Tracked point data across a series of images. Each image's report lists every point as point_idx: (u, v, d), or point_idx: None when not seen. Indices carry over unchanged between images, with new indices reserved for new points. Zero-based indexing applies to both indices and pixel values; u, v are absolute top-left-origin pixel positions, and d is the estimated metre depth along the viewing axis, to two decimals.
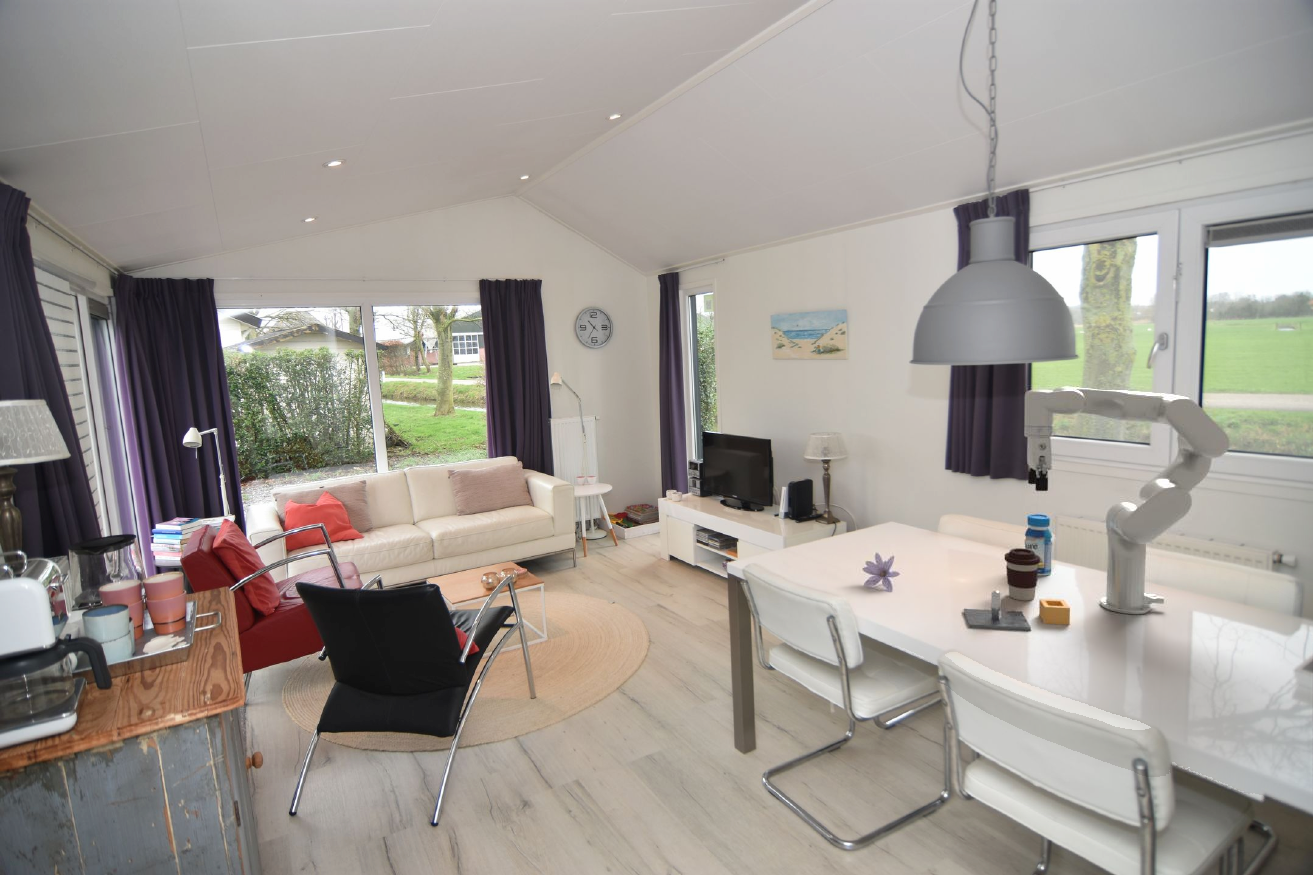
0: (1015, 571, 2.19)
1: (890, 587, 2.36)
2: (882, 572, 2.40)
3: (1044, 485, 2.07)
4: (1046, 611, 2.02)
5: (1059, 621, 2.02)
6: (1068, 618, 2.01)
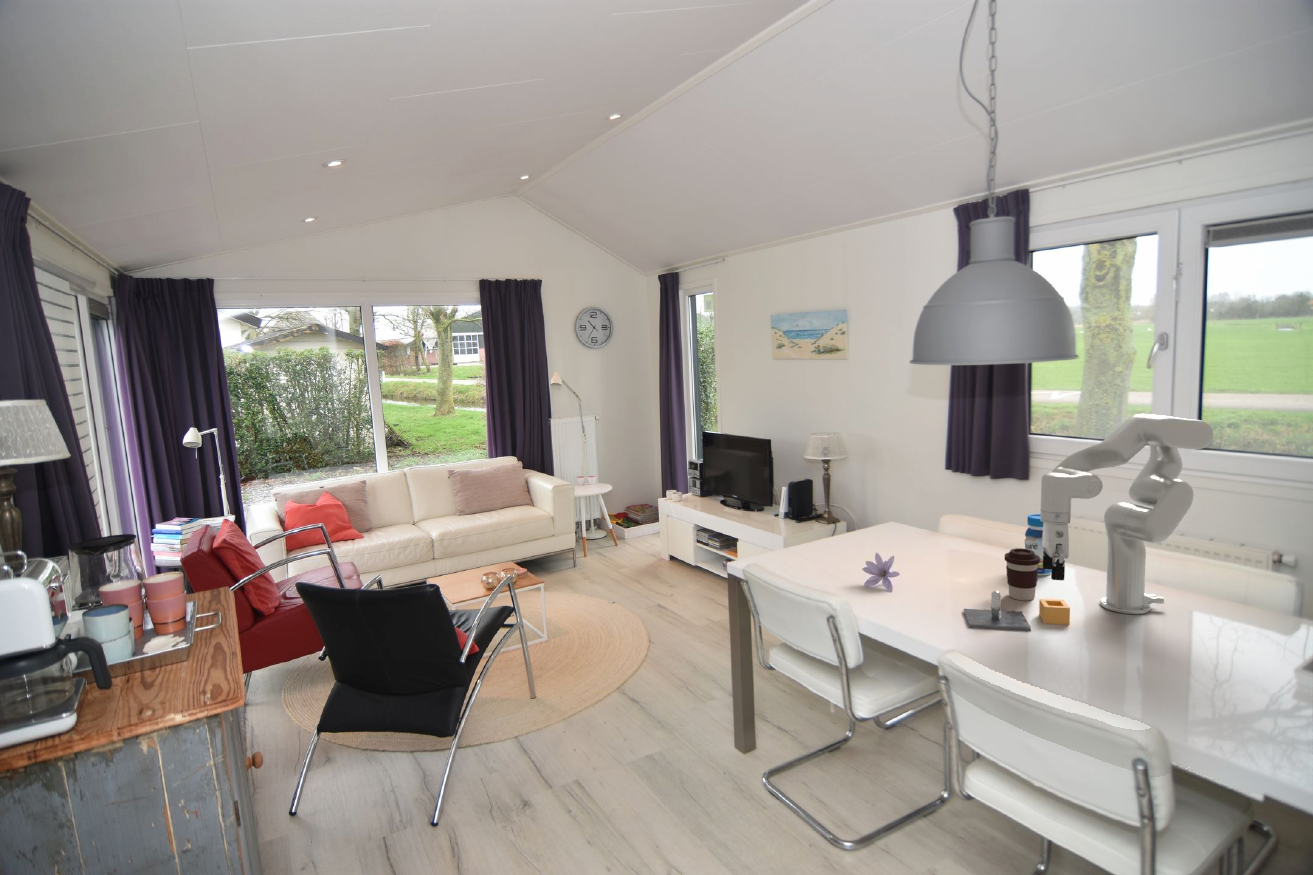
0: (1015, 571, 2.19)
1: (890, 587, 2.36)
2: (882, 572, 2.40)
3: (1060, 574, 1.97)
4: (1046, 611, 2.02)
5: (1059, 621, 2.02)
6: (1068, 618, 2.01)
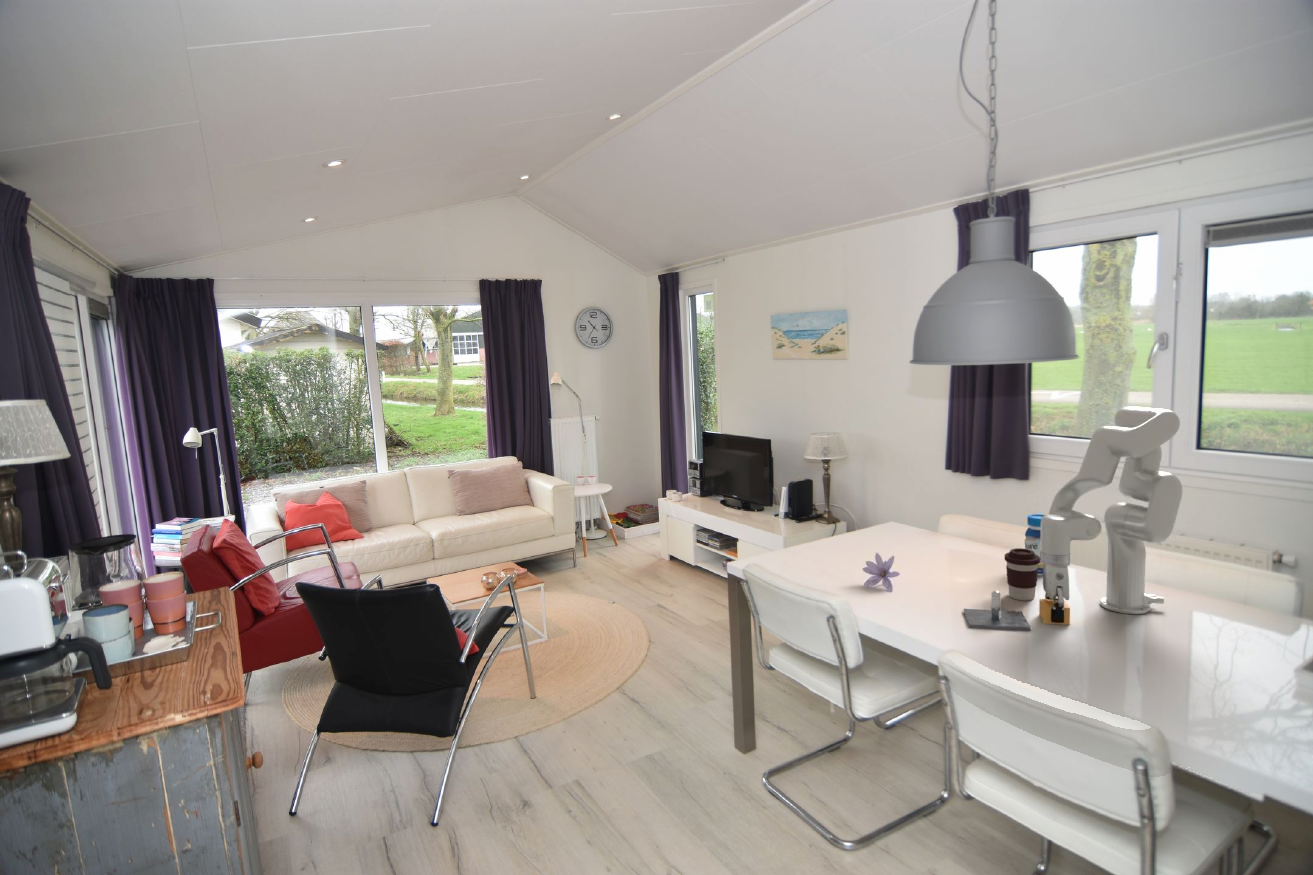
0: (1015, 571, 2.19)
1: (890, 587, 2.36)
2: (882, 572, 2.40)
3: (1060, 617, 2.00)
4: (1046, 611, 2.02)
5: None
6: (1068, 618, 2.01)
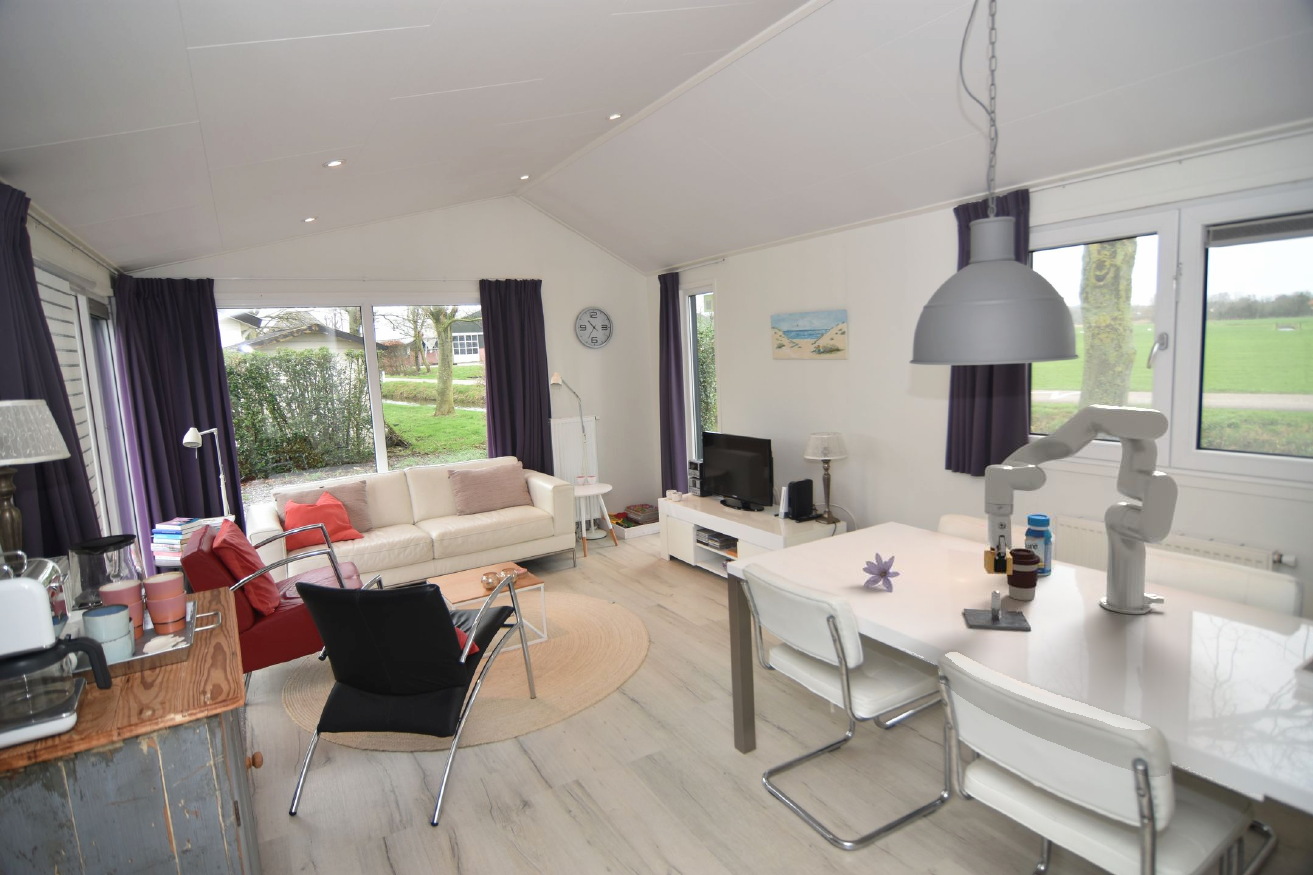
0: (1015, 571, 2.19)
1: (890, 587, 2.36)
2: (882, 572, 2.40)
3: (1003, 567, 2.00)
4: (989, 561, 2.02)
5: None
6: (1011, 568, 2.00)
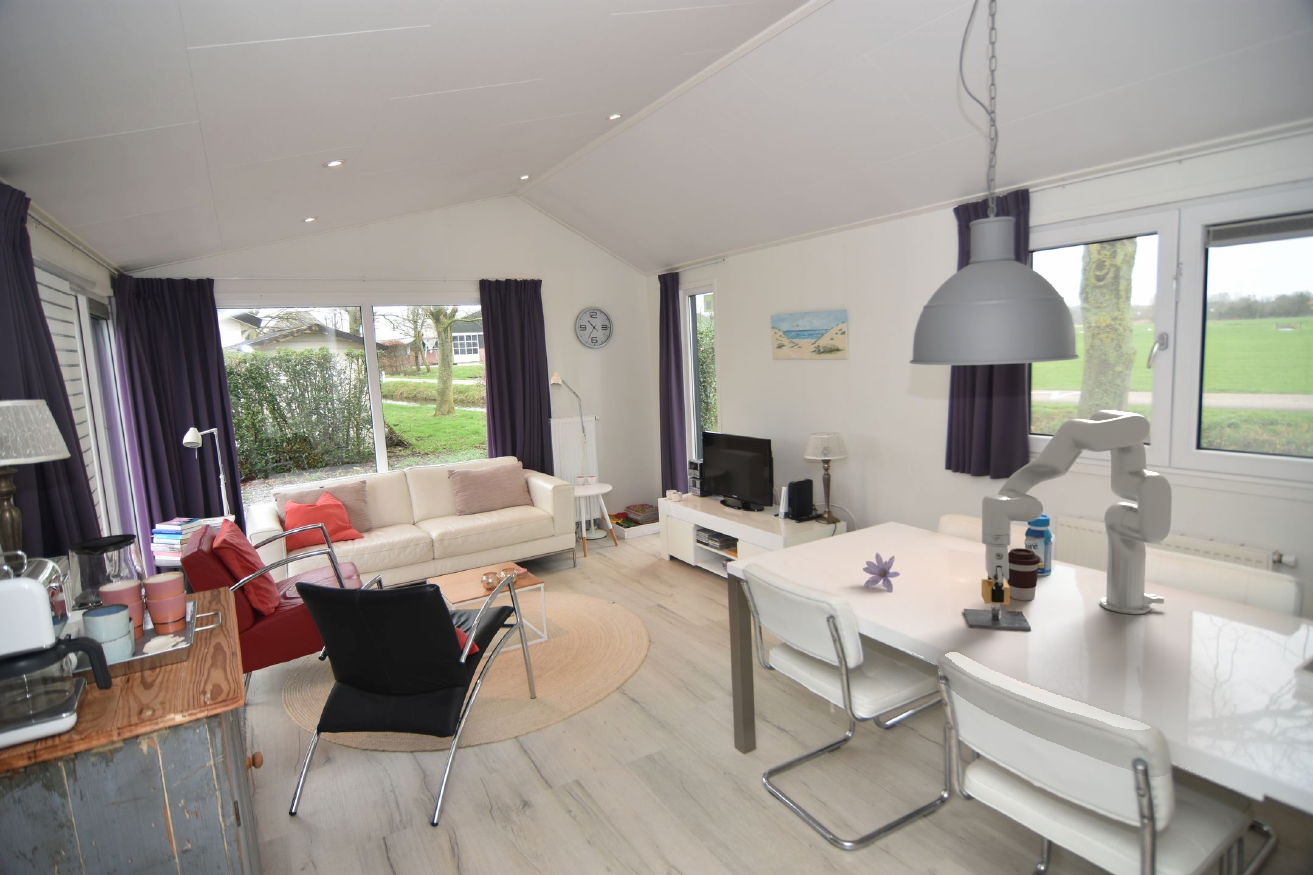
0: (1015, 571, 2.19)
1: (890, 587, 2.36)
2: (882, 572, 2.40)
3: (1000, 597, 2.01)
4: (986, 591, 2.03)
5: None
6: (1008, 598, 2.02)
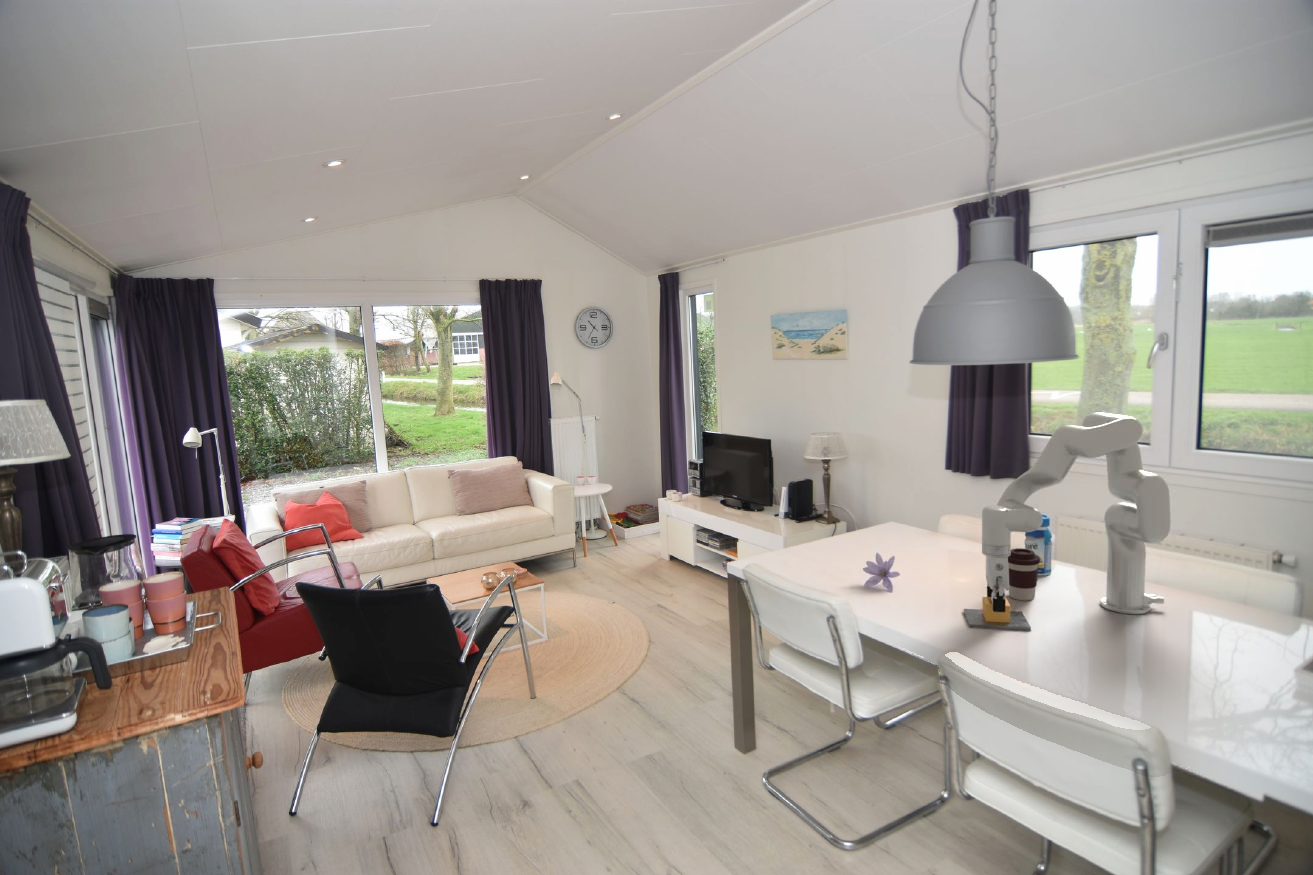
0: (1015, 571, 2.19)
1: (890, 587, 2.36)
2: (882, 572, 2.40)
3: (1001, 606, 2.00)
4: (987, 609, 2.04)
5: (1000, 619, 2.03)
6: (1009, 616, 2.02)
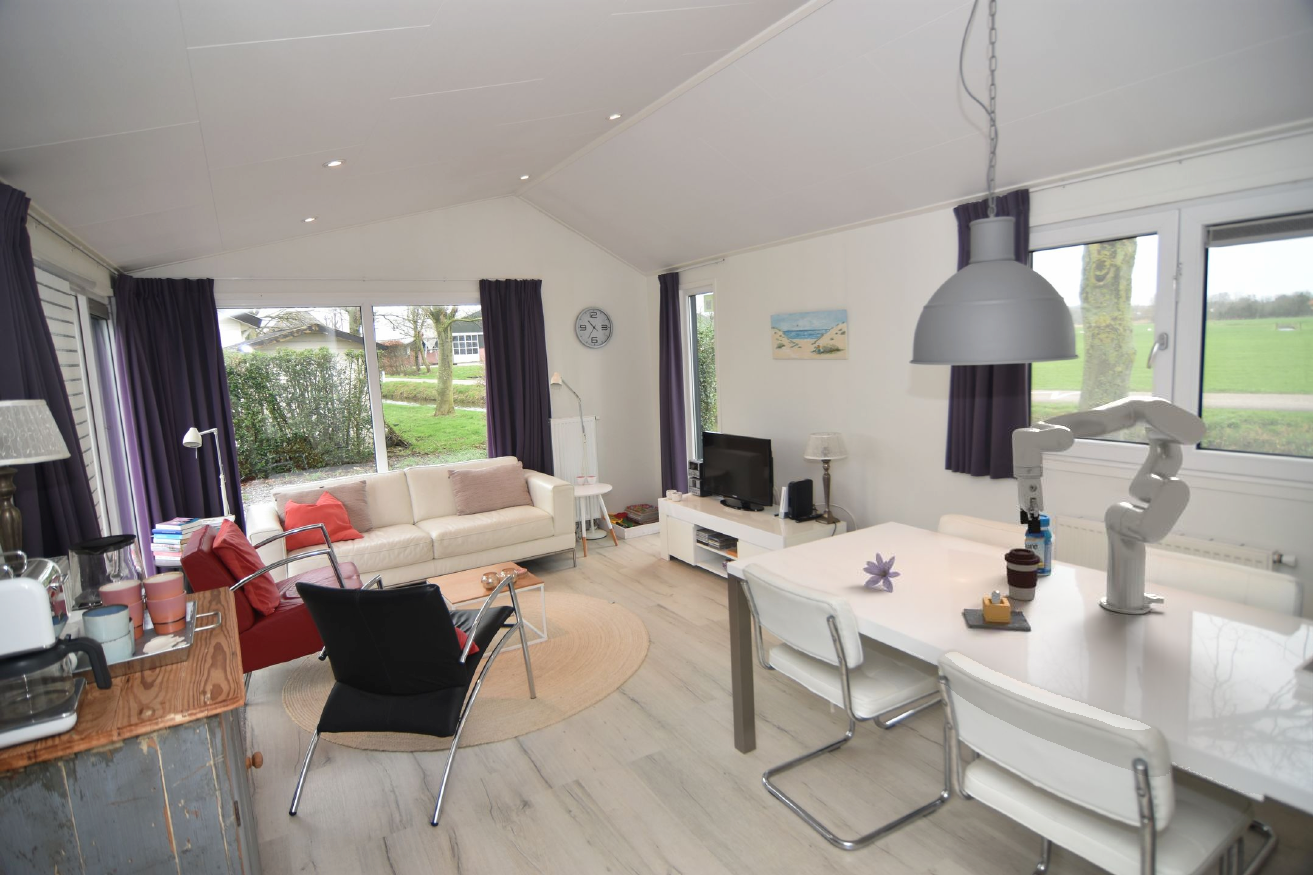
0: (1015, 571, 2.19)
1: (890, 587, 2.36)
2: (883, 572, 2.40)
3: (1037, 528, 1.99)
4: (987, 609, 2.04)
5: (1000, 619, 2.03)
6: (1009, 616, 2.02)
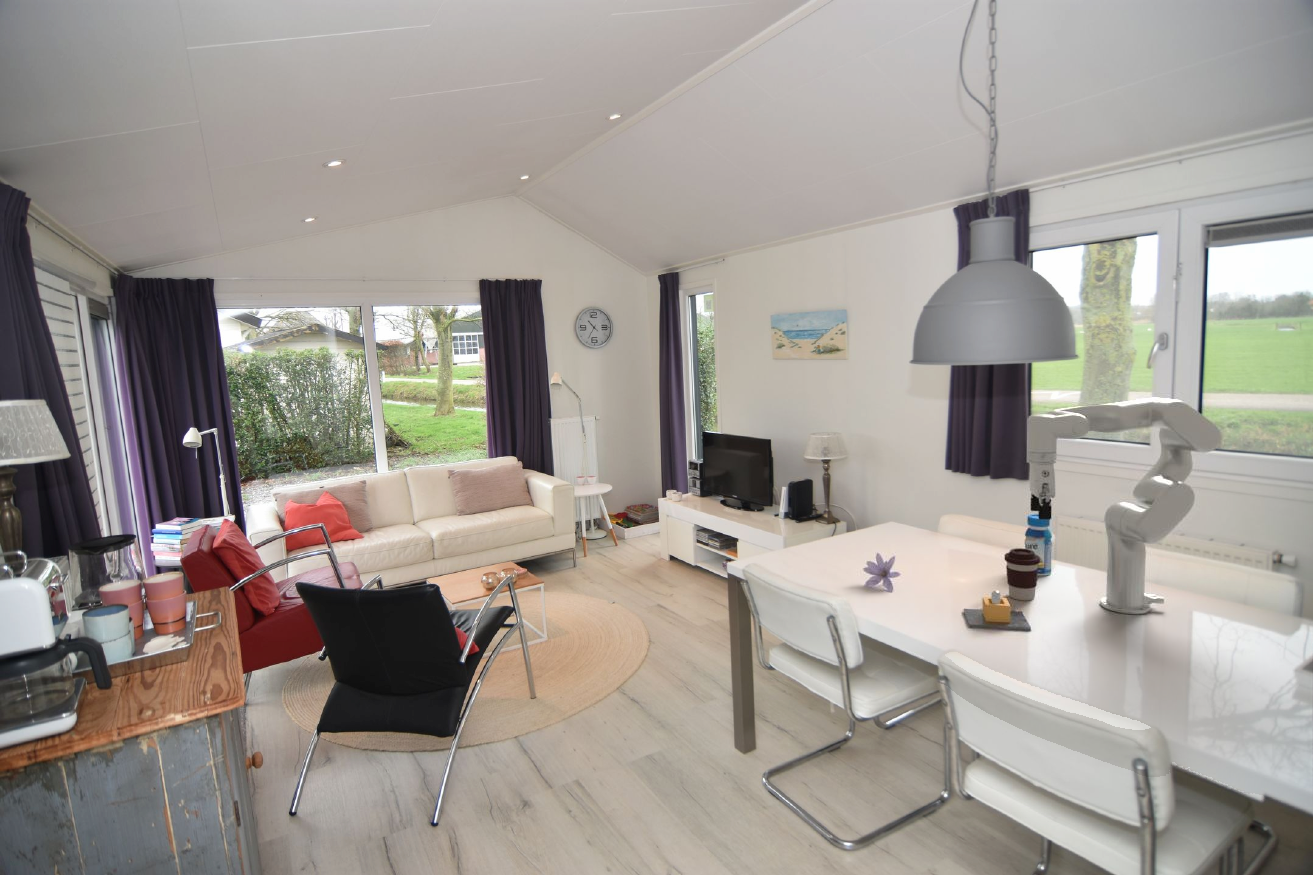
0: (1015, 571, 2.19)
1: (891, 587, 2.36)
2: (883, 572, 2.40)
3: (1047, 513, 2.00)
4: (987, 609, 2.04)
5: (1000, 619, 2.03)
6: (1009, 616, 2.02)
